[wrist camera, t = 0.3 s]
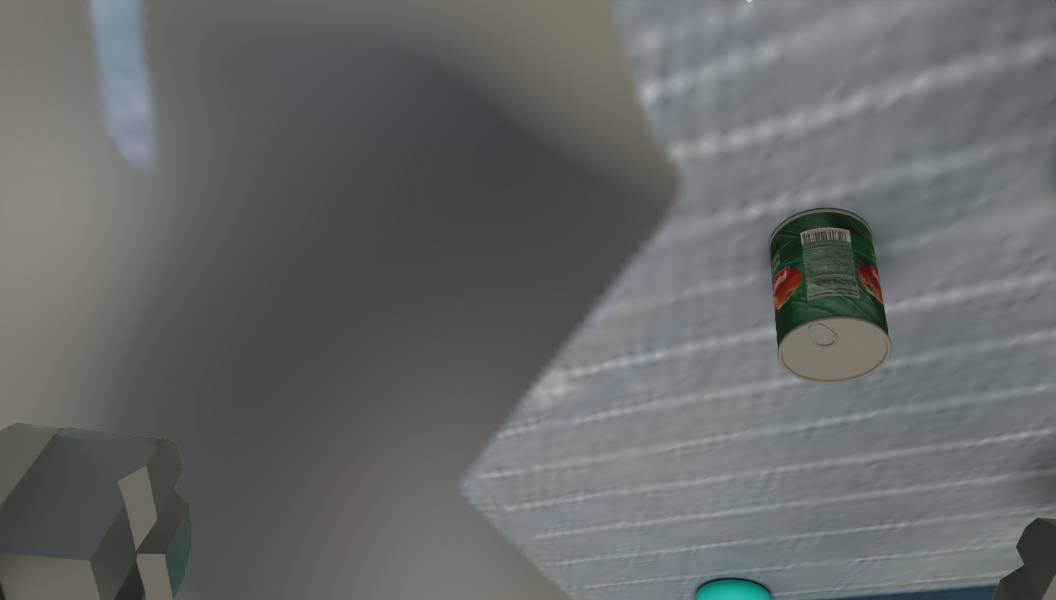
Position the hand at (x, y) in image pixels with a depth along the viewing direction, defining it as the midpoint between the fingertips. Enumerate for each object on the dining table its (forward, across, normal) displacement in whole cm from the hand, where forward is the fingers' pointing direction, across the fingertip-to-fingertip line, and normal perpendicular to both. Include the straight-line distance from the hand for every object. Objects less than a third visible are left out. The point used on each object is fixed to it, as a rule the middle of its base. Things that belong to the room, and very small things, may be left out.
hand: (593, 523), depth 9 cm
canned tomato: (+62, -20, +29) cm, 72 cm away
